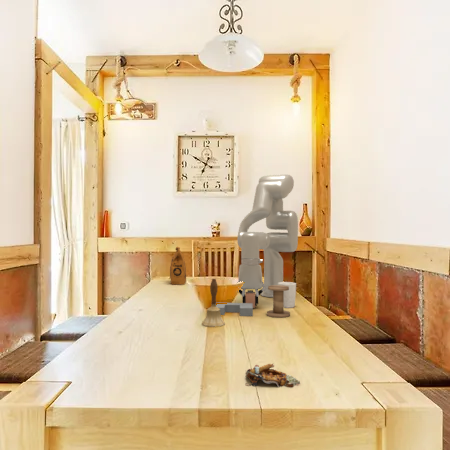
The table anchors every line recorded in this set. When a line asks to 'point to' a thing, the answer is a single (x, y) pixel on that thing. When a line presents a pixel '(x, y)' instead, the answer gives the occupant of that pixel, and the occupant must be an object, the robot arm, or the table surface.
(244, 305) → the notch board
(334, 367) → the table surface
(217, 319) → the hand bell
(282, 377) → the brown irregular lump
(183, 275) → the coffee package
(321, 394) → the table surface
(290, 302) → the white cup
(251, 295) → the copper brown square peg
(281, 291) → the bobbin
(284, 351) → the table surface
